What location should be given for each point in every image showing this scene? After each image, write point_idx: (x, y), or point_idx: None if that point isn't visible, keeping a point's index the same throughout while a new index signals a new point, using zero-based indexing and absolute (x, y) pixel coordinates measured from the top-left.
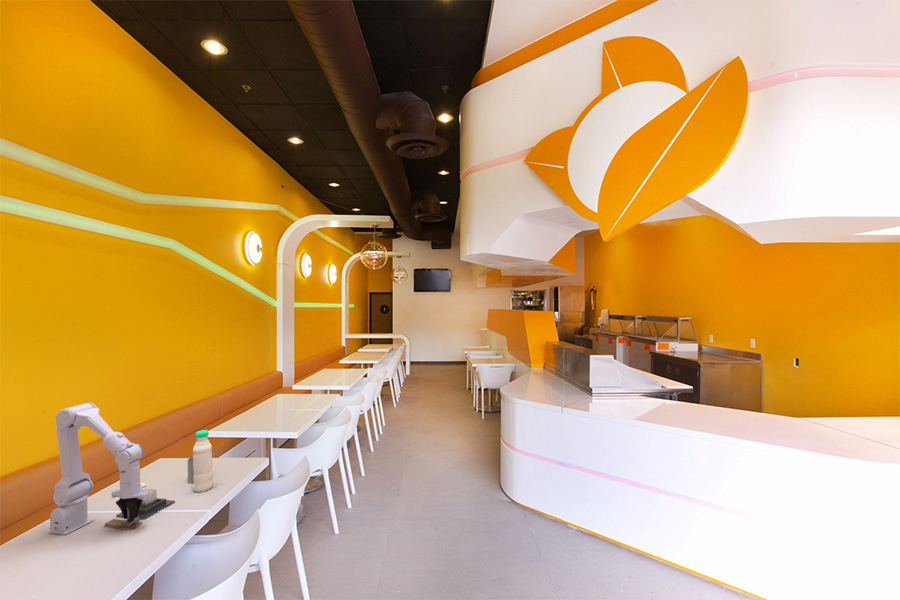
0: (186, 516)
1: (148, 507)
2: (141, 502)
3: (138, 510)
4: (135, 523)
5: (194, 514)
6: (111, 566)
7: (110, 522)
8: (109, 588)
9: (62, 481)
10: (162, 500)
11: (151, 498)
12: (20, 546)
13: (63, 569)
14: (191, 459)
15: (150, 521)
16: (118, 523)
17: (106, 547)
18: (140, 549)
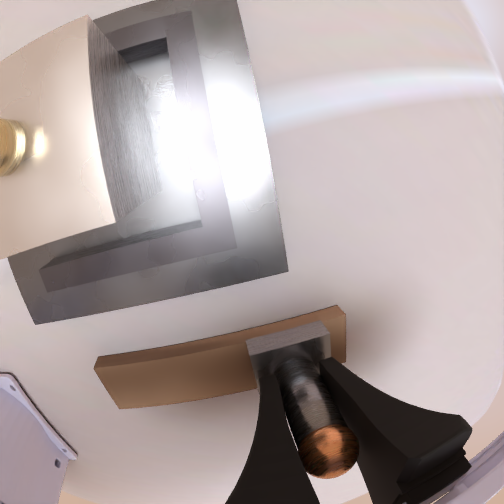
0: (477, 147)
1: (202, 194)
2: (422, 413)
3: (363, 382)
4: None
5: (488, 122)
6: None
7: (134, 396)
8: (473, 421)
9: None
10: (183, 40)
11: (125, 121)
12: (64, 485)
13: (334, 486)
14: None
15: (352, 259)
16: (200, 387)
17: None
18: (466, 370)
